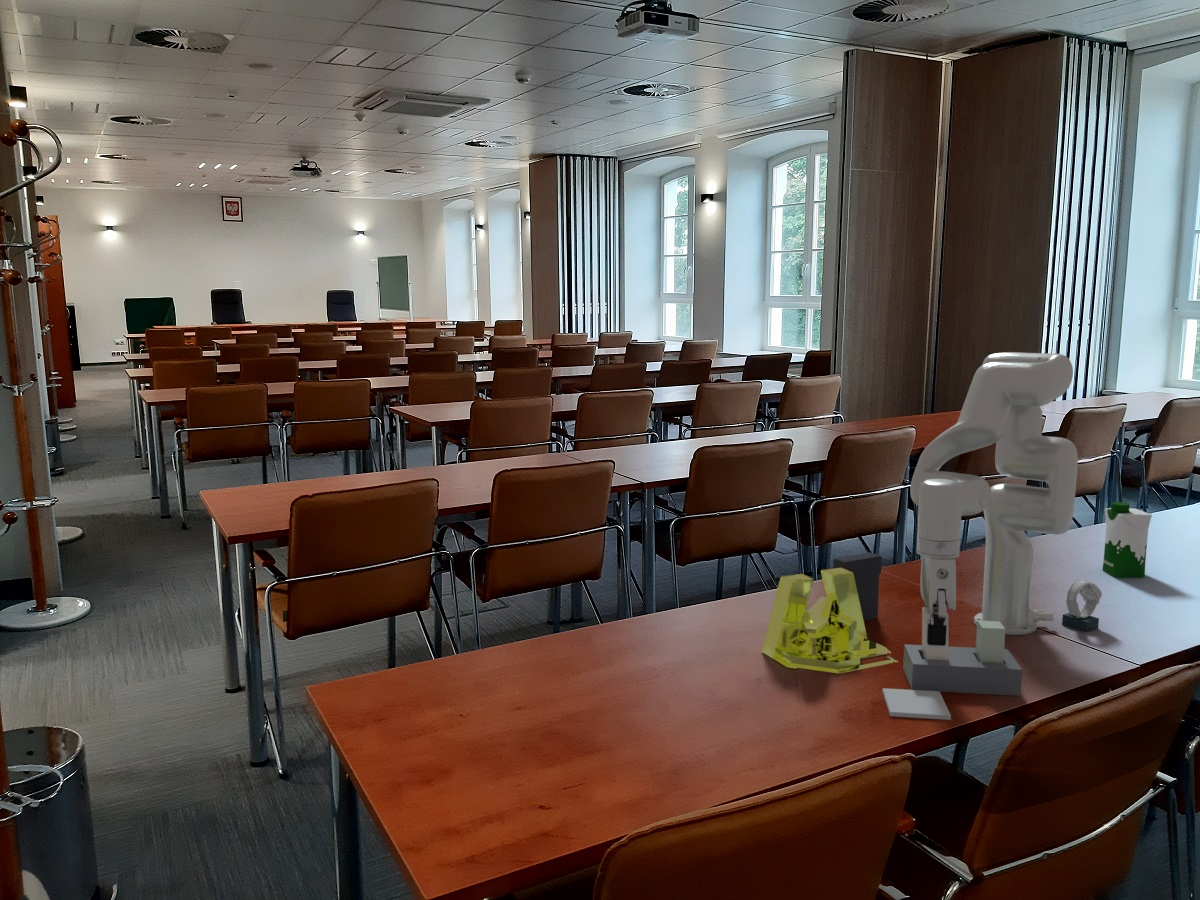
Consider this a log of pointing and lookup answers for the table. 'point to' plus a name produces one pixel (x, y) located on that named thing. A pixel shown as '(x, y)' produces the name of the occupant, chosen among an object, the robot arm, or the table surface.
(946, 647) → the white plug
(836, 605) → the crystal
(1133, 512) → the milk carton
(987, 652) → the sage plug
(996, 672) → the plate
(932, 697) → the mat
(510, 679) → the table surface
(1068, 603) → the watch
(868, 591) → the black block
